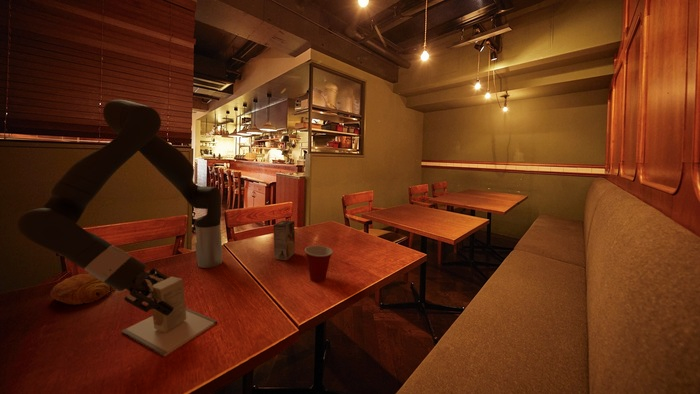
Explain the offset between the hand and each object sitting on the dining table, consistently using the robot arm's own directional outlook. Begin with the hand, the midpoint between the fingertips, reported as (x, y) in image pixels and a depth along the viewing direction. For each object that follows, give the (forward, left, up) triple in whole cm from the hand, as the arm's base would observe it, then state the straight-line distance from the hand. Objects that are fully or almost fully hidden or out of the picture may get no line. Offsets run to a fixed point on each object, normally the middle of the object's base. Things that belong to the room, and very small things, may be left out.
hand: (175, 303), depth 70 cm
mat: (-1, -1, -7) cm, 7 cm away
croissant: (-42, -3, -7) cm, 42 cm away
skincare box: (-1, -1, -6) cm, 6 cm away
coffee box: (-7, +54, -7) cm, 55 cm away
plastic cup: (+19, +42, -7) cm, 47 cm away
